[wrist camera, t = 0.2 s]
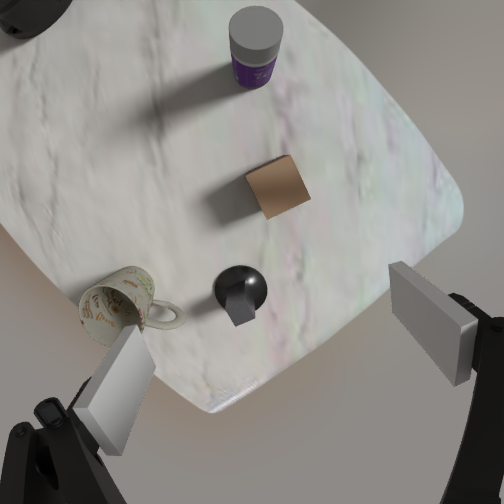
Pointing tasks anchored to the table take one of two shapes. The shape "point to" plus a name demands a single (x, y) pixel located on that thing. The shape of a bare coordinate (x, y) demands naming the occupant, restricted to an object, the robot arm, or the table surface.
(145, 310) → the mug
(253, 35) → the container
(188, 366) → the table surface
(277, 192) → the brown shipping carton
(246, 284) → the post
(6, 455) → the robot arm
